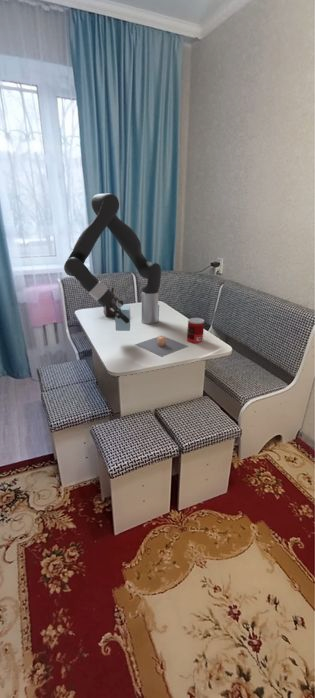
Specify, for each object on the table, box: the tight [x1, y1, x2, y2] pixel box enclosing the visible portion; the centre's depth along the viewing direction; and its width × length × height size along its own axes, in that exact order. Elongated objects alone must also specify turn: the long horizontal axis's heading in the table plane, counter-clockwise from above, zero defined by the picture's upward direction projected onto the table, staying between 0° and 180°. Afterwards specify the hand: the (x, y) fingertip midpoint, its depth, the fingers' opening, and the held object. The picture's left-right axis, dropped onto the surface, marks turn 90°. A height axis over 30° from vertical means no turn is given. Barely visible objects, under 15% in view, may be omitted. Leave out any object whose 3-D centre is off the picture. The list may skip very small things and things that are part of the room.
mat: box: [135, 336, 189, 358], centre depth 150 cm, size 18×18×1 cm
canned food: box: [186, 317, 205, 344], centre depth 155 cm, size 8×8×11 cm
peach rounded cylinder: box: [157, 335, 166, 347], centre depth 149 cm, size 4×4×4 cm
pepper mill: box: [102, 287, 124, 318], centre depth 189 cm, size 16×11×18 cm
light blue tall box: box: [114, 305, 131, 332], centre depth 147 cm, size 6×6×10 cm
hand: (128, 319), depth 147 cm, fingers closed on light blue tall box, 6 cm apart
